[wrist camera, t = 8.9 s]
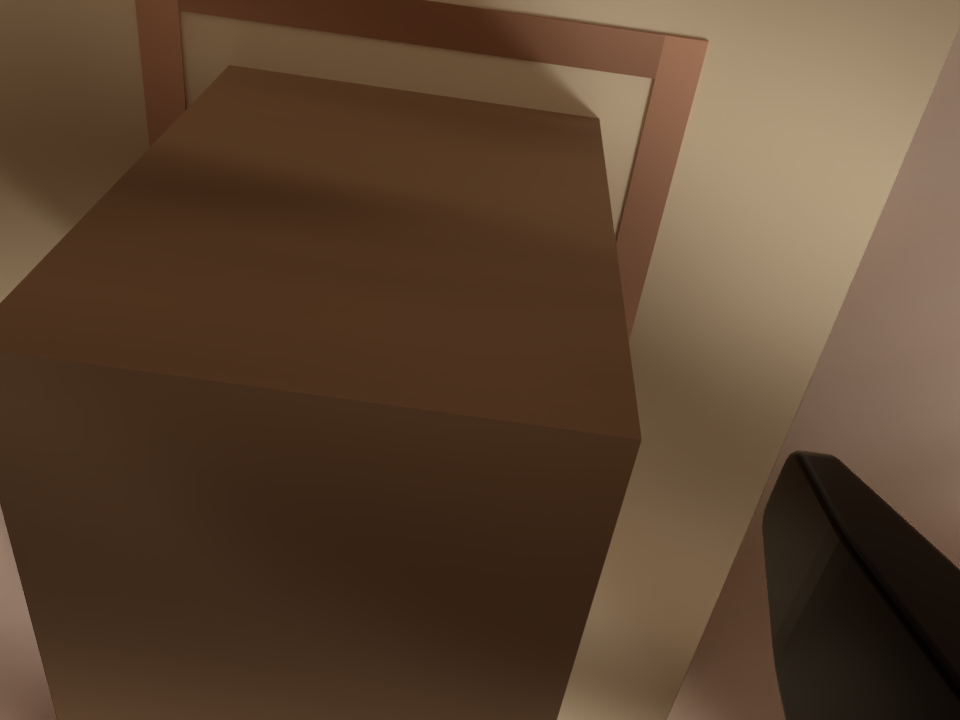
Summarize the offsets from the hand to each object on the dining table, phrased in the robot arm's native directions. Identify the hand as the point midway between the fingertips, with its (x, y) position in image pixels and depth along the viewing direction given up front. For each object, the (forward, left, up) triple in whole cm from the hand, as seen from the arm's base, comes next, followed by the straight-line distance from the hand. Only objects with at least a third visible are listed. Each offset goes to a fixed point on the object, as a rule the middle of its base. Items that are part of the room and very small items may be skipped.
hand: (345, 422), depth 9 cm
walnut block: (0, 0, -4) cm, 4 cm away
